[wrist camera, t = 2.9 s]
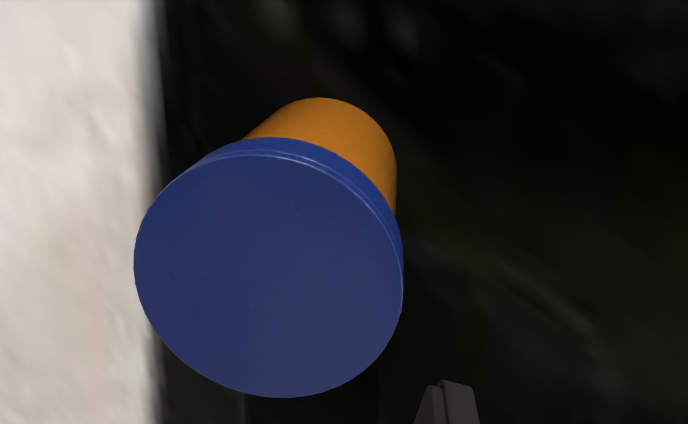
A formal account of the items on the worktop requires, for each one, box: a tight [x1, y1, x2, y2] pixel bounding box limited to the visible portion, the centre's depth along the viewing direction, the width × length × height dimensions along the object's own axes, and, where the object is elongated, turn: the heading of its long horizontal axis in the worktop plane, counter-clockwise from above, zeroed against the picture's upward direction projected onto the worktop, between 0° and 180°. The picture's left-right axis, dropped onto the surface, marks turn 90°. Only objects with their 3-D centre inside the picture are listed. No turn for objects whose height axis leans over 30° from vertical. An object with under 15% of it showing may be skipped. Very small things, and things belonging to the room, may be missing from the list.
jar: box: [240, 98, 397, 217], centre depth 18 cm, size 6×6×10 cm
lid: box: [134, 137, 403, 398], centre depth 14 cm, size 7×7×2 cm
